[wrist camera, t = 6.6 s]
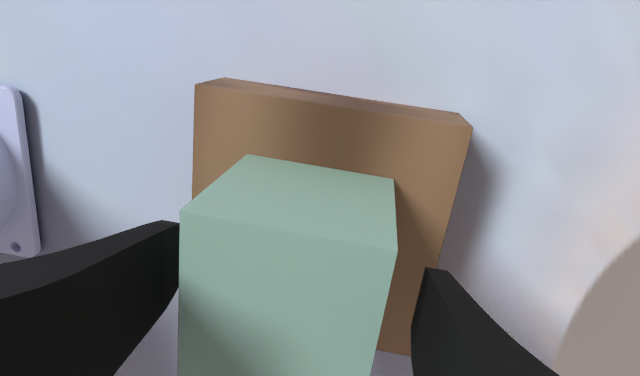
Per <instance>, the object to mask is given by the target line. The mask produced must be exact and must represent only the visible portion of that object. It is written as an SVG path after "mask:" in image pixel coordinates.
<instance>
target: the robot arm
mask: <svg viewBox="0 0 640 376" xmlns="http://www.w3.org/2000/svg"><path fill="white" fill-rule="evenodd" d="M179 237H180V223H175V222H170V221H164V220H161V221H156V222H152V223H148V224H145V225H142V226H139V227H135V228H132V229H129V230H126V231H123V232H120V233H117V234H114V235H111V236H108V237H105V238H102V239H99V240H96V241H93V242H89V243H86V244H83V245H79V246H76V247H73V248H69V249H66V250H62V251H59V252H55V253H51V254H47V255H43V256H38V257H34V256H35V255H37V254H39V252H40V251H41V244H40V236H39V229H38V221H37V213H36V205H35V197H34V189H33V181H32V173H31V165H30V157H29V150H28V142H27V134H26V126H25V118H24V110H23V102H22V97H21V94H20V93H19V91H18V90H17V89H15V88H14V87H12V86H9V85H2V84H0V253H5V254H11V255H16V256H21V257H26V258H29V259H25V260H20V261H15V262H9V263H3V264H0V376H113V375H114V374H115V373H116V371H117V370H118V369H119V367H120V366H121V365H122V364H123V363H124V361H125V360H126V359H127V358H128V356H129V355H130V354H131V353H132V351H133V350H134V349H135V348H136V346H137V345H138V344H139V343H140V341H141V340H142V339H143V338H144V336H145V335H146V334H147V333H148V331H149V330H150V329H151V328H152V326H153V325H154V324H155V323H156V321H157V320H158V319H159V317H160V316H161V315H162V314H163V312H164V311H165V310H166V308H167V306H168V305H169V303H170V301H171V300H172V298H173V296H174V295H175V293H176V291H177V289H178V287H179ZM18 244H19V245H20V246H19V245H18ZM32 257H34V258H32ZM411 360H412V368H413V375H414V376H559V375H558V374H556V373H555V372H554V371H552V370H551V369H550V368H548V367H547V366H546V365H544V364H543V363H542V362H541V361H539V360H538V359H537V358H536V357H534V356H533V355H532V354H531V353H529V352H528V351H527V350H526V349H524V348H523V347H522V346H521V345H520V344H518V343H517V342H516V341H515V340H514V339H513V338H512V337H511V336H510V335H508V334H507V333H506V332H505V331H504V330H503V329H502V328H501V327H500V326H499V325H498V324H497V323H496V322H495V321H494V320H493V319H492V318H491V317H490V316H489V315H488V314H487V313H486V312H485V311H484V310H483V309H482V308H481V307H480V306H479V305H478V304H477V303H476V302H475V301H474V299H473V298H472V297H471V296H470V295H469V294H468V293H467V292H466V291H465V289H464V288H463V287H462V286H461V285H460V284H459V283H458V282H457V281H456V279H455V278H454V277H453V276H452V275H451V274H450V273H449V272H448V271H445V270H440V269H434V268H429V267H425V270H424V274H423V278H422V282H421V286H420V291H419V295H418V299H417V303H416V307H415V311H414V315H413V319H412V324H411Z"/></svg>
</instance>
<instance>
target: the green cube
mask: <svg viewBox="0 0 640 376" xmlns="http://www.w3.org/2000/svg"><path fill="white" fill-rule="evenodd" d="M397 253H398V245H397V228H396V210H395V193H394V179H391V178H385V177H379V176H373V175H367V174H362V173H356V172H350V171H344V170H338V169H332V168H327V167H321V166H315V165H309V164H303V163H297V162H292V161H286V160H280V159H274V158H268V157H263V156H257V155H251V154H246V155H245V156H244V157H243V158H242V159H241V160H239V161H238V162H237V163H236V164H235V165H233V166H232V167H231V168H230V169H229V170H227V171H226V172H225V173H224V174H223V175H221V176H220V177H219V178H218V179H217V180H215V181H214V182H213V183H212V184H211V185H209V186H208V187H207V188H206V189H205V190H203V191H202V192H201V193H200V194H199V195H197V196H196V197H195V198H194V199H193V200H191V201H190V202H189V203H188V204H187V205H185V206H184V207H183V208H182V209H181V210H180V237H179V311H178V376H370V373H371V368H372V364H373V359H374V355H375V351H376V346H377V342H378V337H379V333H380V328H381V324H382V319H383V315H384V310H385V306H386V302H387V297H388V293H389V288H390V284H391V279H392V275H393V270H394V266H395V262H396V257H397Z"/></svg>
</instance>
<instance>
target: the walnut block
mask: <svg viewBox="0 0 640 376" xmlns="http://www.w3.org/2000/svg"><path fill="white" fill-rule="evenodd" d="M472 131H473V127H472V126H471V125H470V124H469V123H468V122H467V121H466V120H465V119H464V118H463V117H462V116H461V115H460V114H459V113H454V112H448V111H441V110H435V109H428V108H421V107H415V106H408V105H402V104H395V103H389V102H382V101H376V100H369V99H362V98H356V97H349V96H343V95H336V94H330V93H323V92H316V91H310V90H303V89H297V88H290V87H284V86H277V85H271V84H264V83H257V82H251V81H244V80H238V79H231V78H225V77H224V78H220V79H215V80H211V81H207V82H203V83H199V84H195V97H194V138H193V179H192V200H193V199H194V198H195V197H196V196H197V195H199V194H200V193H201V192H202V191H203V190H205V189H206V188H207V187H208V186H209V185H211V184H212V183H213V182H214V181H215V180H217V179H218V178H219V177H220V176H221V175H223V174H224V173H225V172H226V171H227V170H229V169H230V168H231V167H232V166H233V165H235V164H236V163H237V162H238V161H239V160H241V159H242V158H243V157H244V156H245V155H246V154H251V155H257V156H263V157H268V158H274V159H280V160H286V161H292V162H297V163H303V164H309V165H315V166H321V167H327V168H332V169H338V170H344V171H350V172H356V173H362V174H367V175H373V176H379V177H385V178H391V179H394V193H395V210H396V228H397V245H398V253H397V257H396V262H395V266H394V270H393V275H392V279H391V284H390V288H389V293H388V297H387V302H386V306H385V310H384V315H383V319H382V324H381V328H380V333H379V337H378V342H377V346H376V349H377V350H382V351H387V352H392V353H396V354H401V355H406V356H411V324H412V319H413V315H414V311H415V307H416V303H417V299H418V295H419V291H420V286H421V282H422V278H423V274H424V270H425V267H429V268H434V269H436V267H437V263H438V260H439V256H440V252H441V248H442V245H443V241H444V237H445V233H446V229H447V226H448V222H449V218H450V214H451V210H452V207H453V203H454V199H455V195H456V191H457V188H458V184H459V180H460V176H461V172H462V169H463V165H464V161H465V157H466V153H467V150H468V146H469V142H470V138H471V135H472Z"/></svg>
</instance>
